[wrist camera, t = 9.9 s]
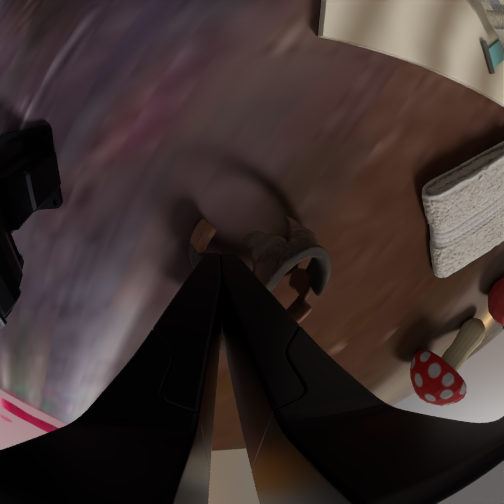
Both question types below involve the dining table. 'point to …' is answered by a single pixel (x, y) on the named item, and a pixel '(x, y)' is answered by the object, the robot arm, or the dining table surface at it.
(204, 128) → the dining table surface
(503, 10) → the crank handle
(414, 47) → the napkin
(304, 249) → the pottery mug
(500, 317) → the tomato
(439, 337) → the dining table surface
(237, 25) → the dining table surface
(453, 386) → the decorative mushroom
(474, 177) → the washcloth
